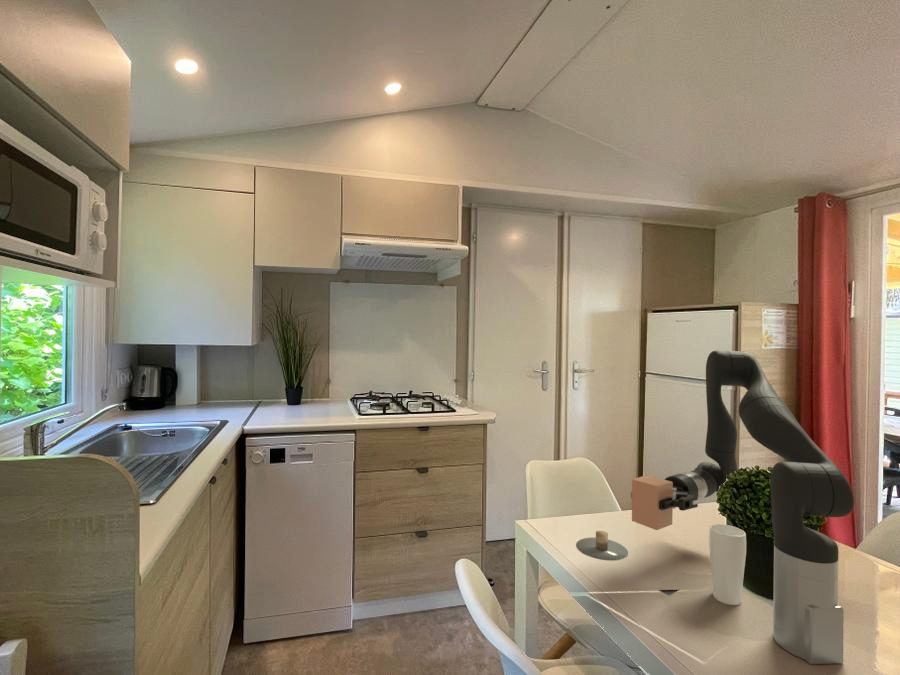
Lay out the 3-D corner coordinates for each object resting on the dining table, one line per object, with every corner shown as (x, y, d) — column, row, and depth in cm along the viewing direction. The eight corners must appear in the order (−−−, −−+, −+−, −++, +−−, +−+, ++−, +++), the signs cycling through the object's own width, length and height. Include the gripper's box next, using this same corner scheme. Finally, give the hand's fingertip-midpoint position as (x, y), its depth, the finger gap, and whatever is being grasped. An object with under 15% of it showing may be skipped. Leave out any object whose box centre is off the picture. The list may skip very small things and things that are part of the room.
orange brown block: (672, 524, 106) (672, 481, 106) (656, 530, 102) (657, 486, 102) (647, 515, 111) (647, 475, 111) (631, 520, 108) (632, 479, 108)
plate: (637, 563, 112) (637, 559, 112) (586, 563, 111) (586, 560, 111) (614, 540, 125) (614, 537, 125) (569, 540, 124) (569, 537, 124)
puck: (609, 550, 116) (609, 535, 117) (598, 551, 116) (598, 535, 116) (604, 545, 119) (605, 530, 120) (593, 545, 119) (594, 530, 119)
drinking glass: (751, 611, 92) (752, 538, 92) (715, 606, 94) (716, 534, 94) (737, 593, 99) (738, 525, 99) (703, 589, 100) (704, 522, 100)
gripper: (658, 467, 121) (619, 476, 111) (714, 481, 109) (676, 493, 99) (658, 495, 121) (619, 507, 111) (713, 512, 109) (675, 527, 99)
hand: (646, 500), depth 105 cm, fingers closed on orange brown block, 6 cm apart
